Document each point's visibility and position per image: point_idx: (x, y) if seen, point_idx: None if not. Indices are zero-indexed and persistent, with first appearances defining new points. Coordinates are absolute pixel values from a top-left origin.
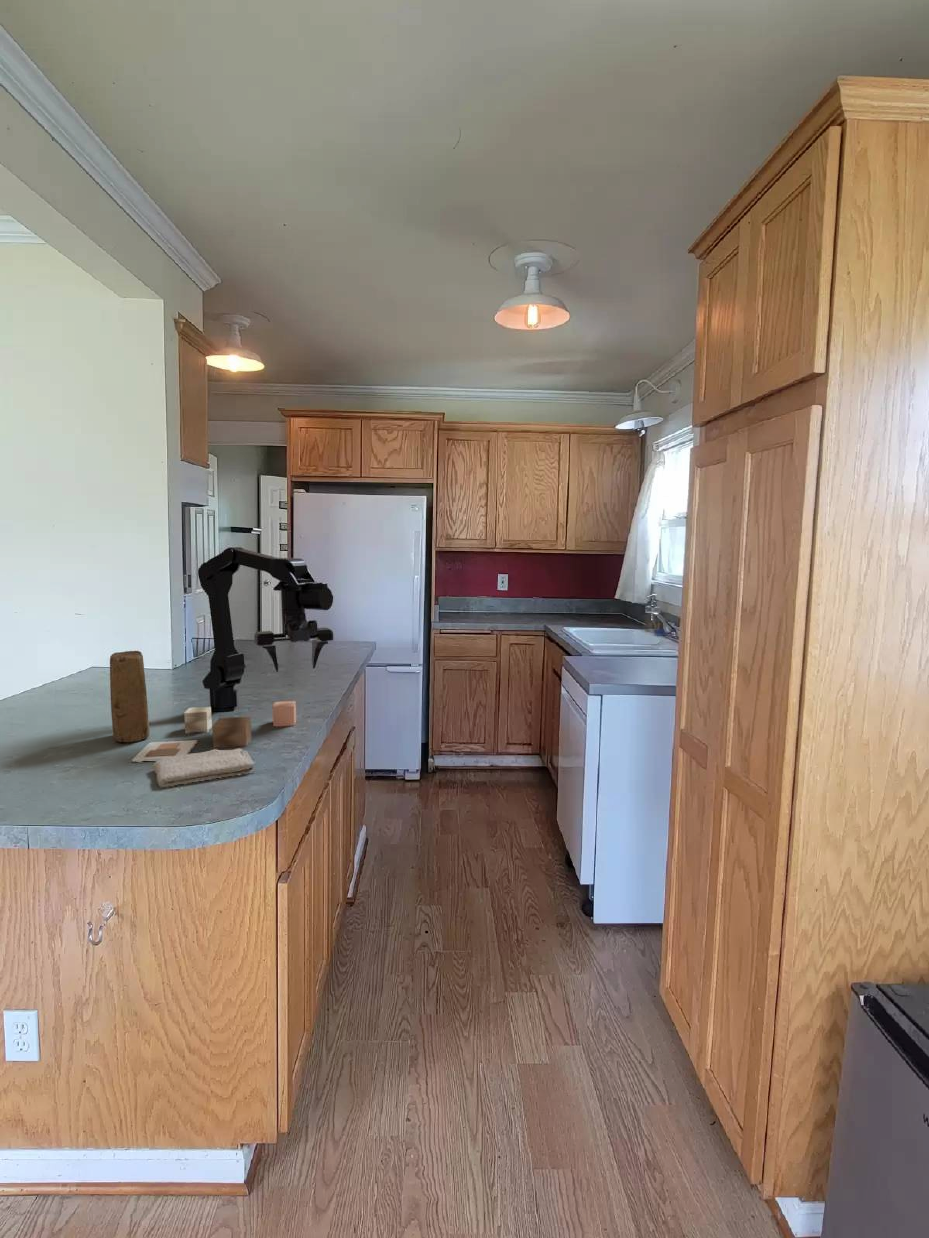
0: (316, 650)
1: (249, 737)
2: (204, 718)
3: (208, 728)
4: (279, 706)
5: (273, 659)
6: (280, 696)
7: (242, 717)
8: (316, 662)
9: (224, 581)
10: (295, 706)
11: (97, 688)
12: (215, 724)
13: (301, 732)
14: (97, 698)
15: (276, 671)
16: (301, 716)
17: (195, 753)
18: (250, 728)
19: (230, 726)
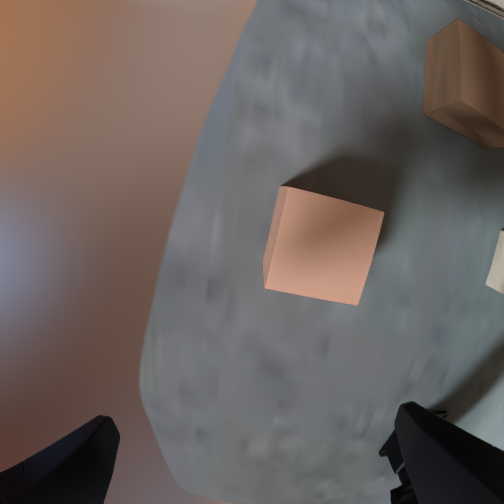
0: (7, 498)
1: (429, 80)
2: None
3: (501, 244)
4: (355, 207)
5: (489, 449)
6: (266, 489)
7: (479, 106)
8: (66, 435)
9: None
10: (266, 268)
11: None
12: None
13: (266, 84)
14: None
15: (411, 401)
16: (237, 305)
17: (496, 2)
18: (439, 97)
19: (488, 42)
